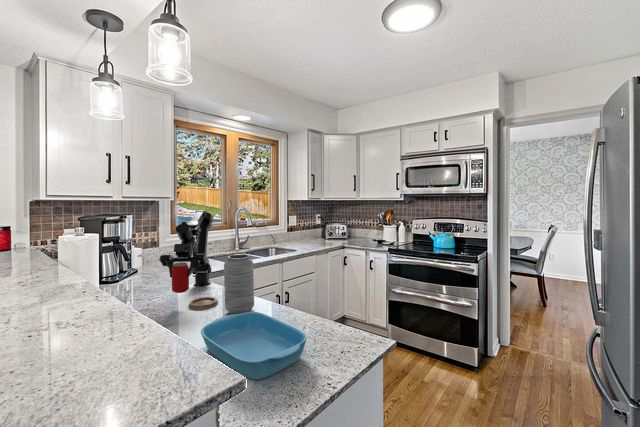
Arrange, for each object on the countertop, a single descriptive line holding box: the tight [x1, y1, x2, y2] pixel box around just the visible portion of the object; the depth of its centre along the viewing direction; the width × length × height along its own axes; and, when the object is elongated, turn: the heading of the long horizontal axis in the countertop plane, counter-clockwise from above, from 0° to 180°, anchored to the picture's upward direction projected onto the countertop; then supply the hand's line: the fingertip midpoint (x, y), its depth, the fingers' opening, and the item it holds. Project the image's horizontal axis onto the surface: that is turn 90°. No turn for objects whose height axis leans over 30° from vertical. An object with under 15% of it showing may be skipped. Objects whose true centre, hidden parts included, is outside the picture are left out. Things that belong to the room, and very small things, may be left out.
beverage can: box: [171, 262, 190, 294], centre depth 133 cm, size 7×7×12 cm
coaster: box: [188, 296, 219, 311], centre depth 135 cm, size 12×12×2 cm
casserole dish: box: [200, 311, 307, 380], centre depth 93 cm, size 37×22×7 cm, turn 45°
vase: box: [223, 253, 255, 315], centre depth 126 cm, size 12×12×23 cm
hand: (179, 276), depth 132 cm, fingers closed on beverage can, 7 cm apart
